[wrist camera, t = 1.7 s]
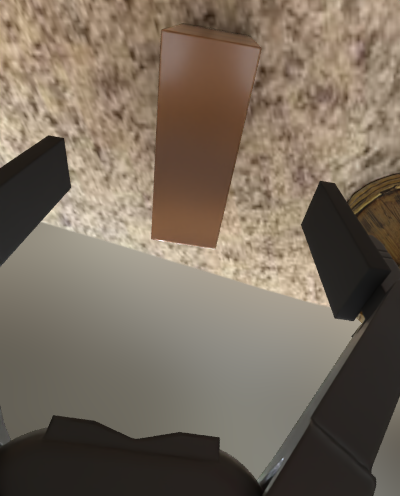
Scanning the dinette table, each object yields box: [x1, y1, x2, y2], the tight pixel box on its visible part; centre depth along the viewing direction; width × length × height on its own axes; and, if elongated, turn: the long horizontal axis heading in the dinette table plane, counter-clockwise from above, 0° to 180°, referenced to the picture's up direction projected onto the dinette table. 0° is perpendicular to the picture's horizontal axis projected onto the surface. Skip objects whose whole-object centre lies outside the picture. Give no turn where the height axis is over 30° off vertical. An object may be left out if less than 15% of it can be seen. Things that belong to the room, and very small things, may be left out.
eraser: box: [151, 24, 261, 249], centre depth 20 cm, size 12×5×8 cm, turn 172°
